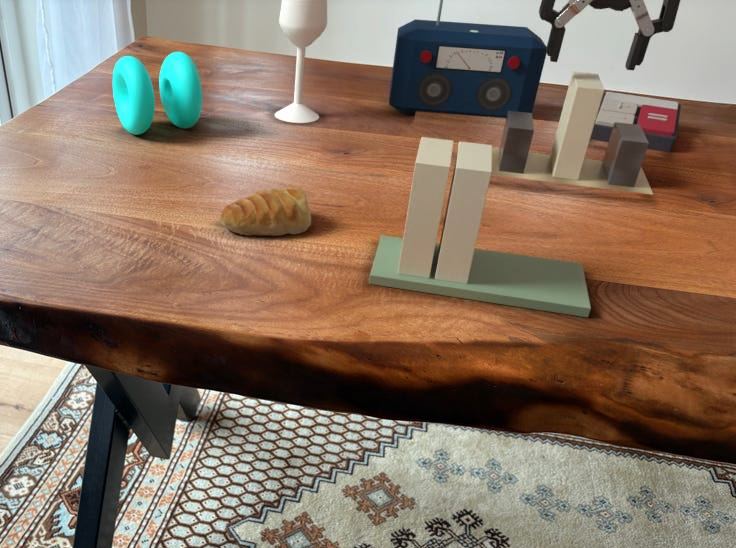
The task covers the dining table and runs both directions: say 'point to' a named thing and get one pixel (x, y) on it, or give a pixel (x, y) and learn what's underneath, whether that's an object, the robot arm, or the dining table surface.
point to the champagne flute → (301, 48)
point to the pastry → (268, 213)
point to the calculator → (639, 118)
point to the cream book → (576, 125)
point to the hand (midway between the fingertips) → (591, 64)
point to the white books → (468, 242)
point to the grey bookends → (610, 173)
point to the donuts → (175, 92)
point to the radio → (465, 68)
